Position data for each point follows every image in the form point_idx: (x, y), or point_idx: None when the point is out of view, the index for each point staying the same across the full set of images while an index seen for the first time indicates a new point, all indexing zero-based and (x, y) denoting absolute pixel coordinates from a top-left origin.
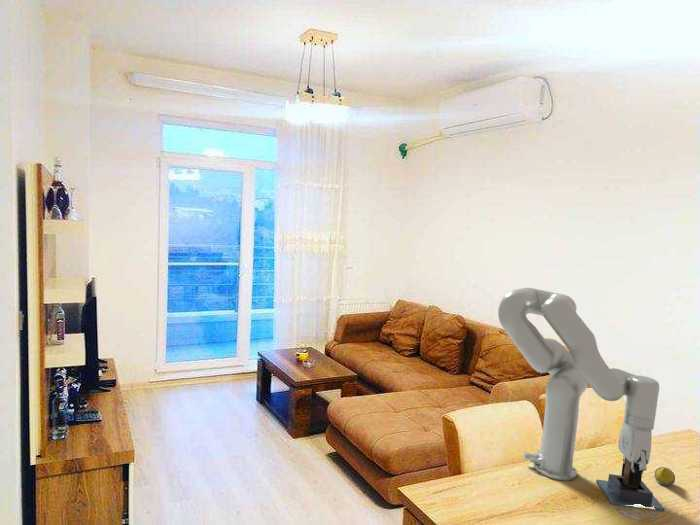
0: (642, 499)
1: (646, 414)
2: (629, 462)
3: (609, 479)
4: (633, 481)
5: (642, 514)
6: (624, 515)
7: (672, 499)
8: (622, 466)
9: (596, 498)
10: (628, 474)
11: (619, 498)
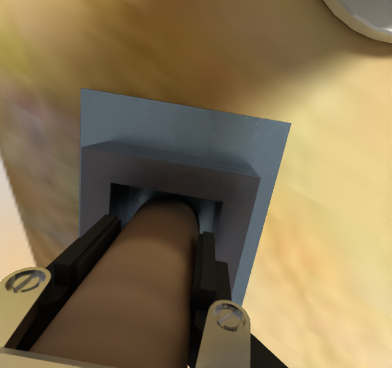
0: None
1: None
2: (53, 331)
3: (241, 169)
4: (74, 242)
5: (42, 190)
6: (10, 105)
7: None
8: (214, 268)
9: (127, 36)
10: (111, 248)
11: (105, 141)
